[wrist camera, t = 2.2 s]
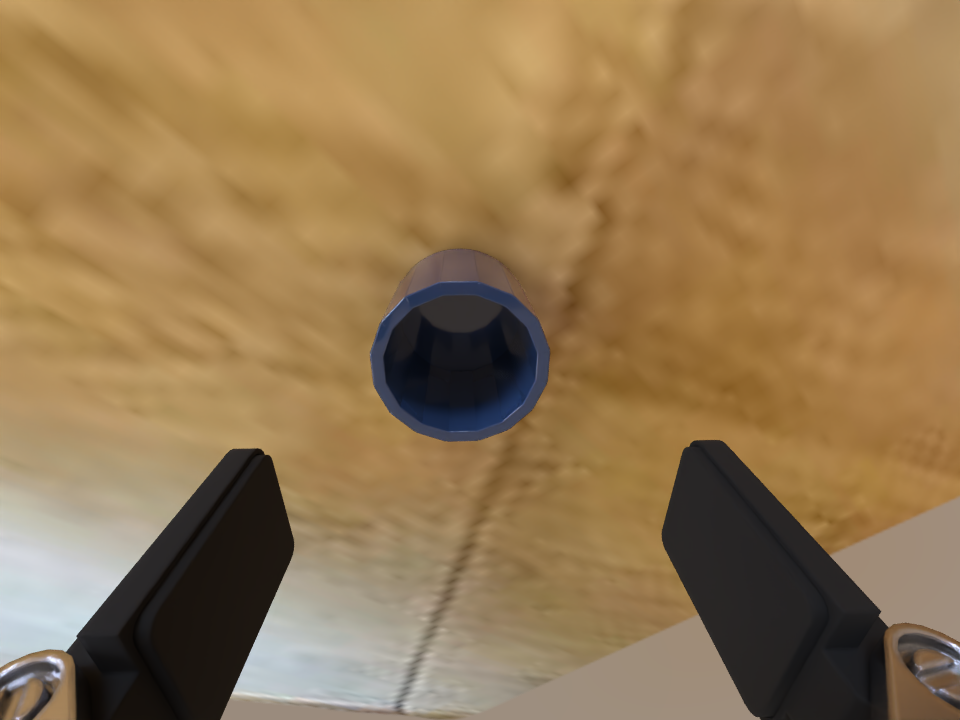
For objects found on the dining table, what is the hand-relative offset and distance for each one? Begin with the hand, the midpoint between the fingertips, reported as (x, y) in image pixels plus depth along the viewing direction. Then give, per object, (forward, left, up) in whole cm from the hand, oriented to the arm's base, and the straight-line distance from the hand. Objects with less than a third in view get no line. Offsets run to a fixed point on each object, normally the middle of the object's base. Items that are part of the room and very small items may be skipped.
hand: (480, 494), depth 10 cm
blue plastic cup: (0, 0, -12) cm, 12 cm away
